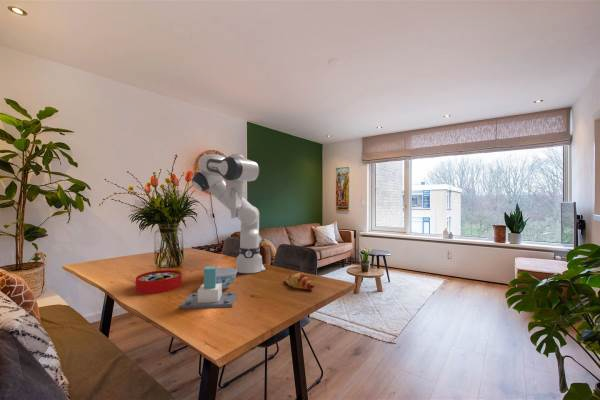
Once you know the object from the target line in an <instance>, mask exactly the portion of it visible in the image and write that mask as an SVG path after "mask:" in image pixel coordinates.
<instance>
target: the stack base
mask: <svg viewBox="0 0 600 400" xmlns="http://www.w3.org/2000/svg"><path fill="white" fill-rule="evenodd" d="M222 291H223V289H222V284H216V288H210V289H204V283H202V285H200V287H199V288H198V289H197V292H193V293H189V295H188V296H187V297H186V298H185V299H184V300H183V302H182V303H181V304H180V305H179V309H180V310H183V309H206V308H208V309H209V308H232V307H233V306H234V304H235V301H236V298H237V295H238V294H237V292H233V291H228V292H222Z"/></svg>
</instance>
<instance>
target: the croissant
mask: <svg viewBox="0 0 600 400" xmlns="http://www.w3.org/2000/svg"><path fill="white" fill-rule="evenodd" d="M284 279H285V282H286V284H287V285H288V286H289V287H291V286H292V288H295V289H301V290H311V289H314V288H315V284H314V283H313V282H312V281H311V280H310V279H311V278H309V277H308V275H307V274H305V273H303V272H299V273H291V274H288V275H287V276H285V278H284Z"/></svg>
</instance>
